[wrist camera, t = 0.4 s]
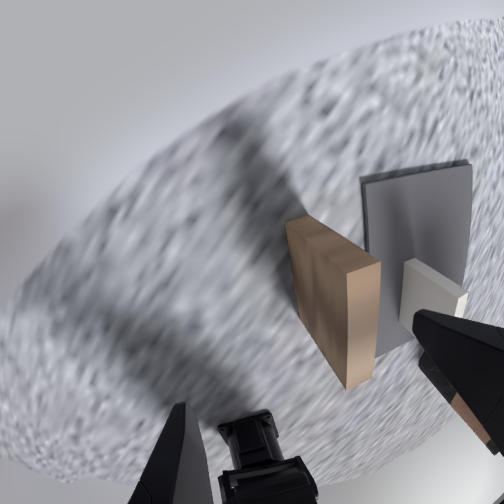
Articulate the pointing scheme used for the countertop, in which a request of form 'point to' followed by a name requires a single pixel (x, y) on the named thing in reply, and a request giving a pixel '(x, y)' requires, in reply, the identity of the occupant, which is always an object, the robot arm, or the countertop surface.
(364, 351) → the flat wooden plank
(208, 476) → the robot arm
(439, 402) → the countertop surface
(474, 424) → the travel mug
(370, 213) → the mat
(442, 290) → the tile
